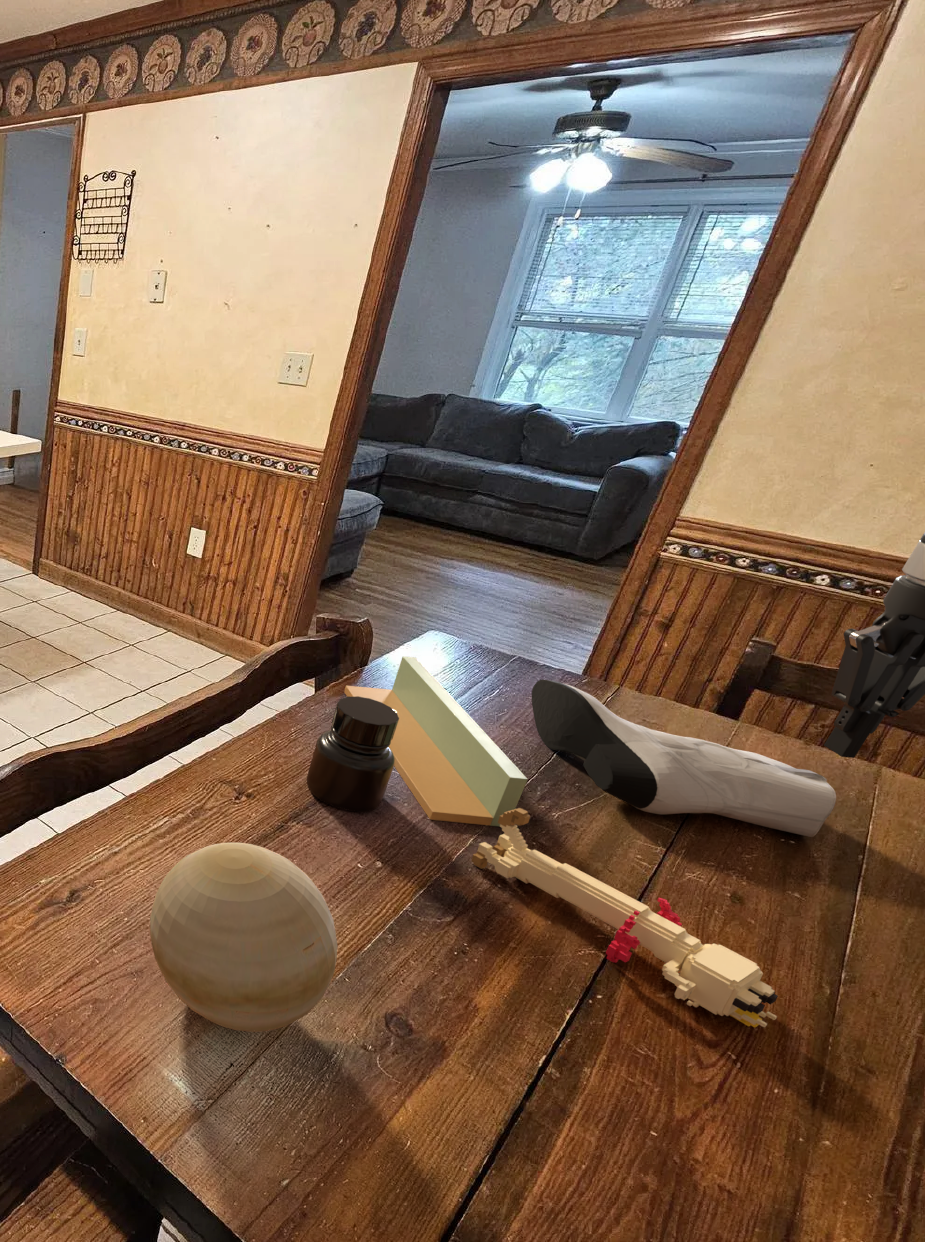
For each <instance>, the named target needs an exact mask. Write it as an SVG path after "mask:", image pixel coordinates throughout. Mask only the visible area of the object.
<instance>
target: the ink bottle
mask: <svg viewBox="0 0 925 1242" xmlns="http://www.w3.org/2000/svg"><path fill="white" fill-rule="evenodd" d="M398 721H399V717H398V714H397V712H395V711H394V710H393V709H392V708H391V707H389V706H387V705H385V704H383V703H382V702H379V701H376V700H373V699H370V698H364V697H359V696H356V697H349V696H348V697H347V696H345V697H341V698H340V699H339V700H338V701H337V702H336V706H335V710H334V712H333V717H332V719H331V725H330V729H328V730H326V731H324V732H323V733H321V734H320V735H319V737H318V738H317V741H316V743H315V747H314V751H313V753H312V757H311V761H310V764H309V768H308V771H307V775H306V784H307V788H308V789H309V791H310V792H311V794H312V795H313V796H315V797H316V798H317V799H318V800H319V801H321V802H323V803H325V804H327V805H329V806H332V807H335V808H337V809H341V810H345V811H350V812H354V813H368V812H372V811H374V810H376V809H378V808H379V807H380V806H381V805H382V802H383V799H384V796H385V794H386V790H387V788H388V784H389V782H390V778H391V776H392V772H393V769H394V768H395V767H394V763H395V758H394V755H393V752H392V751H391V749H390V748H389V746H390V744H391V740H392V739H393V736H394V733H395V730H396V727H397V724H398Z"/></svg>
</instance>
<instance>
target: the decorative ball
mask: <svg viewBox="0 0 925 1242" xmlns="http://www.w3.org/2000/svg"><path fill="white" fill-rule="evenodd" d="M149 935H150V942H151V947H152V951H153V955H154V959H155V961H156V963H157V966H158V968H159V971H160V972H161V974H162V976H163V978H164V980H165V981H166V983H167V985H169V987H170V989H171V990H172V991H173V993H174V994H175V995H176V996H177V998H179V999H180V1000H181V1002H182V1003H183V1004H185V1005H186V1006H187V1007H188V1009H190V1010H191V1011H193V1012H195V1014H198V1015H199V1016H201V1017H203V1018H205V1019H206V1020H207V1021H210V1022H211V1023H213V1024H216V1025H218V1026H220V1027H223V1028H225V1029H226V1028H227V1029H230V1030H234V1031H238V1032H248V1033H260V1032H261V1033H262V1032H263V1033H264V1032H269V1031H274V1030H279V1029H281V1028H284V1027H287V1026H289V1025H291V1024H293V1023H296V1022H297V1021H298V1020H300V1019H302V1018H303V1017H304V1016H306V1015H308V1014H309V1013H310V1012H311V1011H312V1010H313V1009H314V1008H315V1007H316V1006H317V1004H318V1003H320V1001H321V999H322V998H323V997H324V996H325V994H326V992H327V990H328V989H329V986H330V985H331V982H332V979H333V977H334V974H335V971H336V964H337V957H338V938H337V931H336V927H335V920H334V918H333V915H332V913H331V910H330V908H329V906H328V904H327V901H326V899H325V897H324V895H323V893H322V892H321V891H320V890H319V888H318V887H317V885H316V884H315V883H314V881H313V880H312V879H311V878H310V876H309V875H308V874H307V873H306V872H304V871H303V870H302V869H301V868H300V867H299V866H297V865H296V863H294V862H293V861H291V860H290V859H289V858H287V857H285V856H283V855H282V854H280V853H277V852H275V851H273V850H270V849H268V848H266V847H263V846H260V845H256V844H252V843H247V842H246V843H245V842H231V841H230V842H220V843H214V844H211V845H207V846H204V847H202V848H200V849H197V850H196V851H193V852H192V853H191V852H190V853H189V854H187V855H185V856H184V857H183V858H181V859H180V860H179V861H178V862H177V863H176V864H175V865H174V866H173V867H172V868H171V869H170V870H169V872H167V873H166V874H165V876H164V878H163V879H162V882H161V884H160V885H159V887H158V889H157V891H156V893H155V895H154V899H153V903H152V907H151V911H150V917H149Z"/></svg>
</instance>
